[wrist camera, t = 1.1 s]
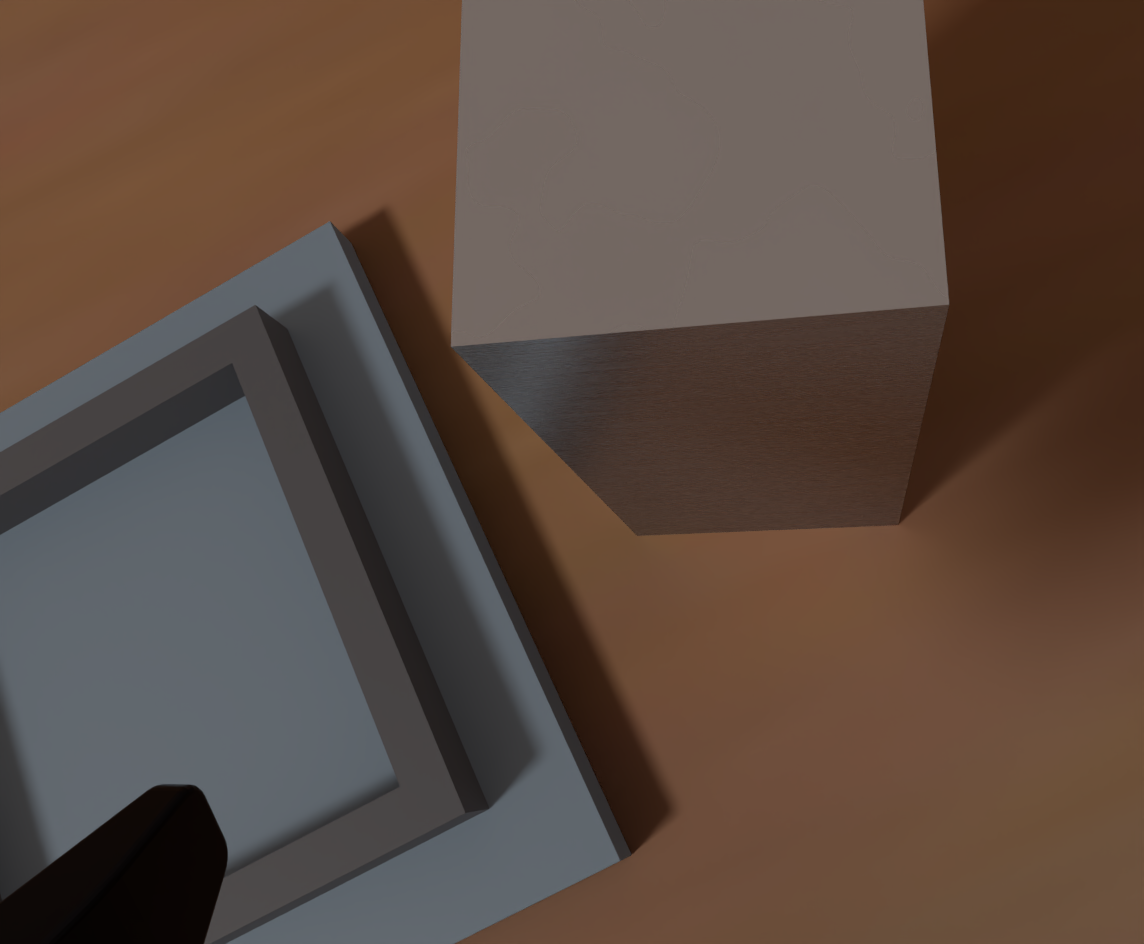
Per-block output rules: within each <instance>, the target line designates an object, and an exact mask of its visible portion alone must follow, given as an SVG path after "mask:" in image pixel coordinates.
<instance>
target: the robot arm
mask: <svg viewBox="0 0 1144 944" xmlns="http://www.w3.org/2000/svg"><path fill="white" fill-rule="evenodd" d="M227 862H228V848H227V843H226V840H225V837H224V835H223V833H222V831H221V829H220V827H219V824H218V822H217V820H216V818H215V816H214V814H213V812H212V809H211V807H210V805H209V803H208V801H207V799H206V796H205V795H204V793H203V791H202V790H201V789H199V788H198V787H197V786H195V785H191V784H161V785H156V786H154V787H152V788H150V789H149V790H147V791H146V792H144V793H143V794H142V795H141V796H139V797H138V798H137V799H135V800H134V801H133V802H131V803H130V804H129V805H127V806H126V807H125V808H123V809H122V810H121V811H119V812H118V813H117V814H116V815H114V816H113V817H112V818H110V819H109V820H108V821H106V822H105V823H104V824H102V825H101V826H100V827H98V828H97V829H96V830H94V831H93V832H92V833H91V834H89V835H88V836H87V837H85V838H84V839H83V840H81V841H80V842H79V843H77V844H76V845H75V846H73V847H72V848H71V849H70V850H68V851H67V852H66V853H64V854H63V855H62V856H60V857H59V858H58V859H56V860H55V861H54V862H52V863H51V864H50V865H48V866H47V867H46V868H45V869H43V870H42V871H41V872H39V873H38V874H37V875H35V876H34V877H33V878H31V879H30V880H29V881H27V882H26V883H25V884H23V885H22V886H21V887H20V888H18V889H17V890H16V891H14V892H13V893H12V894H10V895H9V896H8V897H6V898H5V899H4V900H2V901H1V902H0V944H204V943H205V939H206V936H207V933H208V929H209V926H210V923H211V919H212V916H213V912H214V909H215V906H216V902H217V899H218V896H219V892H220V889H221V886H222V882H223V879H224V876H225V872H226V868H227Z"/></svg>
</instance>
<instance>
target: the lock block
mask: <svg viewBox="0 0 1144 944" xmlns="http://www.w3.org/2000/svg"><path fill="white" fill-rule="evenodd" d="M948 308H949V296H948V284H947V272H946V260H945V249H944V237H943V225H942V214H941V202H940V190H939V179H938V167H937V155H936V144H935V132H934V120H933V108H932V97H931V85H930V73H929V62H928V50H927V38H926V27H925V15H924V3H923V0H462V21H461V52H460V83H459V114H458V145H457V175H456V206H455V237H454V268H453V298H452V329H451V347H452V348H453V349H454V350H455V351H456V352H457V353H458V354H459V355H460V356H461V357H462V358H463V359H464V360H465V361H466V362H467V363H468V365H469V366H470V367H471V368H472V369H473V370H474V371H475V372H476V373H477V374H478V375H479V376H480V377H481V378H482V379H483V380H484V381H485V382H486V383H487V384H488V385H489V386H490V387H491V388H492V389H493V390H494V391H495V392H496V393H497V394H498V395H499V396H500V397H501V398H502V399H503V400H504V401H505V402H506V403H507V404H508V405H509V406H510V407H511V408H512V409H513V410H514V411H515V412H516V413H517V414H518V415H519V416H520V417H521V418H522V419H523V420H524V421H525V422H526V423H527V424H528V425H529V426H530V427H531V429H532V430H533V431H534V432H535V433H536V434H537V435H538V436H539V437H540V438H541V439H542V440H543V441H544V442H545V443H546V444H547V445H548V446H549V447H550V448H551V449H552V450H553V451H554V452H555V453H556V454H557V455H558V456H559V457H560V458H561V459H562V460H563V461H564V462H565V463H566V464H567V465H568V466H569V467H570V468H571V469H572V470H573V471H574V472H575V473H576V474H577V475H578V476H579V477H580V478H581V479H582V480H583V481H584V482H585V483H586V484H587V485H588V486H589V487H590V488H591V489H592V490H593V491H594V492H595V494H596V495H597V496H598V497H599V498H600V499H601V500H602V501H603V502H604V503H605V504H606V505H607V506H608V507H609V508H610V509H611V510H612V511H613V512H614V513H615V514H616V515H617V516H618V517H619V518H620V519H621V520H622V521H623V522H624V523H625V524H626V525H627V526H628V527H629V528H630V529H631V530H632V531H633V532H634V533H635V534H636V535H637V536H641V535H666V534H690V533H714V532H739V531H763V530H787V529H812V528H836V527H860V526H885V525H898V524H899V520H900V515H901V511H902V507H903V502H904V498H905V494H906V489H907V485H908V481H909V476H910V472H911V468H912V463H913V459H914V455H915V450H916V446H917V442H918V438H919V433H920V429H921V425H922V420H923V416H924V412H925V407H926V403H927V399H928V394H929V390H930V386H931V381H932V377H933V373H934V368H935V364H936V360H937V355H938V351H939V347H940V342H941V338H942V334H943V330H944V325H945V321H946V317H947V312H948Z"/></svg>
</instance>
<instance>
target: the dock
mask: <svg viewBox="0 0 1144 944" xmlns="http://www.w3.org/2000/svg"><path fill="white" fill-rule="evenodd" d="M161 784H191V785H195V786H197V787H198V788H199V789H201V790H202V791H203V793H204V795H205V796H206V799H207V801H208V803H209V805H210V807H211V809H212V812H213V814H214V816H215V818H216V820H217V822H218V824H219V827H220V829H221V831H222V833H223V835H224V837H225V840H226V843H227V848H228V862H227V868H226V872H225V876H224V879H223V882H222V886H221V889H220V892H219V896H218V899H217V902H216V906H215V909H214V912H213V916H212V919H211V923H210V926H209V929H208V933H207V936H206V939H205V943H204V944H454V943H456V942H458V941H460V940H462V939H464V938H466V937H468V936H470V935H472V934H474V933H476V932H478V931H480V930H482V929H484V928H486V927H488V926H490V925H492V924H494V923H496V922H498V921H500V920H502V919H504V918H506V917H508V916H510V915H512V914H514V913H517V912H519V911H521V910H523V909H525V908H527V907H529V906H531V905H533V904H535V903H537V902H539V901H541V900H543V899H545V898H547V897H549V896H551V895H553V894H555V893H557V892H559V891H561V890H563V889H565V888H567V887H569V886H571V885H573V884H575V883H577V882H579V881H581V880H583V879H585V878H587V877H589V876H591V875H593V874H595V873H597V872H599V871H601V870H603V869H605V868H607V867H609V866H611V865H613V864H615V863H617V862H619V861H621V860H623V859H625V858H627V857H629V856H631V852H630V850H629V848H628V846H627V844H626V842H625V839H624V837H623V835H622V833H621V831H620V828H619V826H618V824H617V822H616V820H615V818H614V815H613V813H612V811H611V809H610V807H609V804H608V802H607V800H606V798H605V796H604V794H603V791H602V789H601V787H600V785H599V783H598V780H597V778H596V776H595V774H594V772H593V770H592V767H591V765H590V763H589V761H588V759H587V756H586V754H585V752H584V750H583V748H582V746H581V743H580V741H579V739H578V737H577V735H576V733H575V730H574V728H573V726H572V724H571V722H570V719H569V717H568V715H567V713H566V711H565V709H564V706H563V704H562V702H561V700H560V698H559V695H558V693H557V691H556V689H555V687H554V685H553V682H552V680H551V678H550V676H549V674H548V671H547V669H546V667H545V665H544V663H543V661H542V658H541V656H540V654H539V652H538V650H537V647H536V645H535V643H534V641H533V639H532V637H531V634H530V632H529V630H528V628H527V626H526V623H525V621H524V619H523V617H522V615H521V613H520V610H519V608H518V606H517V604H516V602H515V599H514V597H513V595H512V593H511V591H510V589H509V586H508V584H507V582H506V580H505V578H504V575H503V573H502V571H501V569H500V567H499V565H498V562H497V560H496V558H495V556H494V554H493V551H492V549H491V547H490V545H489V543H488V541H487V538H486V536H485V534H484V532H483V530H482V527H481V525H480V523H479V521H478V519H477V517H476V514H475V512H474V510H473V508H472V506H471V503H470V501H469V499H468V497H467V495H466V493H465V490H464V488H463V486H462V484H461V482H460V479H459V477H458V475H457V473H456V471H455V469H454V466H453V464H452V462H451V460H450V458H449V455H448V453H447V451H446V449H445V447H444V445H443V442H442V440H441V438H440V436H439V434H438V431H437V429H436V427H435V425H434V423H433V421H432V418H431V416H430V414H429V412H428V410H427V407H426V405H425V403H424V401H423V399H422V397H421V394H420V392H419V390H418V388H417V386H416V383H415V381H414V379H413V377H412V375H411V373H410V370H409V368H408V366H407V364H406V362H405V359H404V357H403V355H402V353H401V351H400V349H399V346H398V344H397V342H396V340H395V338H394V335H393V333H392V331H391V329H390V327H389V325H388V322H387V320H386V318H385V316H384V314H383V311H382V309H381V307H380V305H379V303H378V301H377V298H376V296H375V294H374V292H373V290H372V287H371V285H370V283H369V281H368V279H367V277H366V274H365V272H364V270H363V268H362V266H361V263H360V261H359V259H358V257H357V255H356V253H355V250H354V248H353V246H352V244H351V242H350V241H349V240H348V239H347V238H346V237H345V236H344V235H343V234H342V233H341V232H340V231H339V230H338V229H337V228H336V227H335V226H334V225H333V224H332V223H331V222H328V223H326V224H324V225H323V226H321V227H319V228H318V229H316V230H314V231H312V232H311V233H309V234H307V235H306V236H304V237H302V238H300V239H299V240H297V241H295V242H294V243H292V244H290V245H288V246H287V247H285V248H283V249H282V250H280V251H278V252H276V253H275V254H273V255H271V256H269V257H268V258H266V259H264V260H263V261H261V262H259V263H257V264H256V265H254V266H252V267H251V268H249V269H247V270H245V271H244V272H242V273H240V274H239V275H237V276H235V277H233V278H232V279H230V280H228V281H227V282H225V283H223V284H221V285H220V286H218V287H216V288H215V289H213V290H211V291H209V292H208V293H206V294H204V295H202V296H201V297H199V298H197V299H196V300H194V301H192V302H190V303H189V304H187V305H185V306H184V307H182V308H180V309H178V310H177V311H175V312H173V313H172V314H170V315H168V316H166V317H165V318H163V319H161V320H160V321H158V322H156V323H154V324H153V325H151V326H149V327H147V328H146V329H144V330H142V331H141V332H139V333H137V334H135V335H134V336H132V337H130V338H129V339H127V340H125V341H123V342H122V343H120V344H118V345H117V346H115V347H113V348H111V349H110V350H108V351H106V352H105V353H103V354H101V355H99V356H98V357H96V358H94V359H92V360H91V361H89V362H87V363H86V364H84V365H82V366H80V367H79V368H77V369H75V370H74V371H72V372H70V373H68V374H67V375H65V376H63V377H62V378H60V379H58V380H56V381H55V382H53V383H51V384H50V385H48V386H46V387H44V388H43V389H41V390H39V391H38V392H36V393H34V394H32V395H31V396H29V397H27V398H25V399H24V400H22V401H20V402H19V403H17V404H15V405H13V406H12V407H10V408H8V409H7V410H5V411H3V412H1V413H0V902H1V901H2V900H4V899H5V898H6V897H8V896H9V895H10V894H12V893H13V892H14V891H16V890H17V889H18V888H20V887H21V886H22V885H23V884H25V883H26V882H27V881H29V880H30V879H31V878H33V877H34V876H35V875H37V874H38V873H39V872H41V871H42V870H43V869H45V868H46V867H47V866H48V865H50V864H51V863H52V862H54V861H55V860H56V859H58V858H59V857H60V856H62V855H63V854H64V853H66V852H67V851H68V850H70V849H71V848H72V847H73V846H75V845H76V844H77V843H79V842H80V841H81V840H83V839H84V838H85V837H87V836H88V835H89V834H91V833H92V832H93V831H94V830H96V829H97V828H98V827H100V826H101V825H102V824H104V823H105V822H106V821H108V820H109V819H110V818H112V817H113V816H114V815H116V814H117V813H118V812H119V811H121V810H122V809H123V808H125V807H126V806H127V805H129V804H130V803H131V802H133V801H134V800H135V799H137V798H138V797H139V796H141V795H142V794H143V793H144V792H146V791H147V790H149V789H150V788H152V787H154V786H156V785H161Z"/></svg>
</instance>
